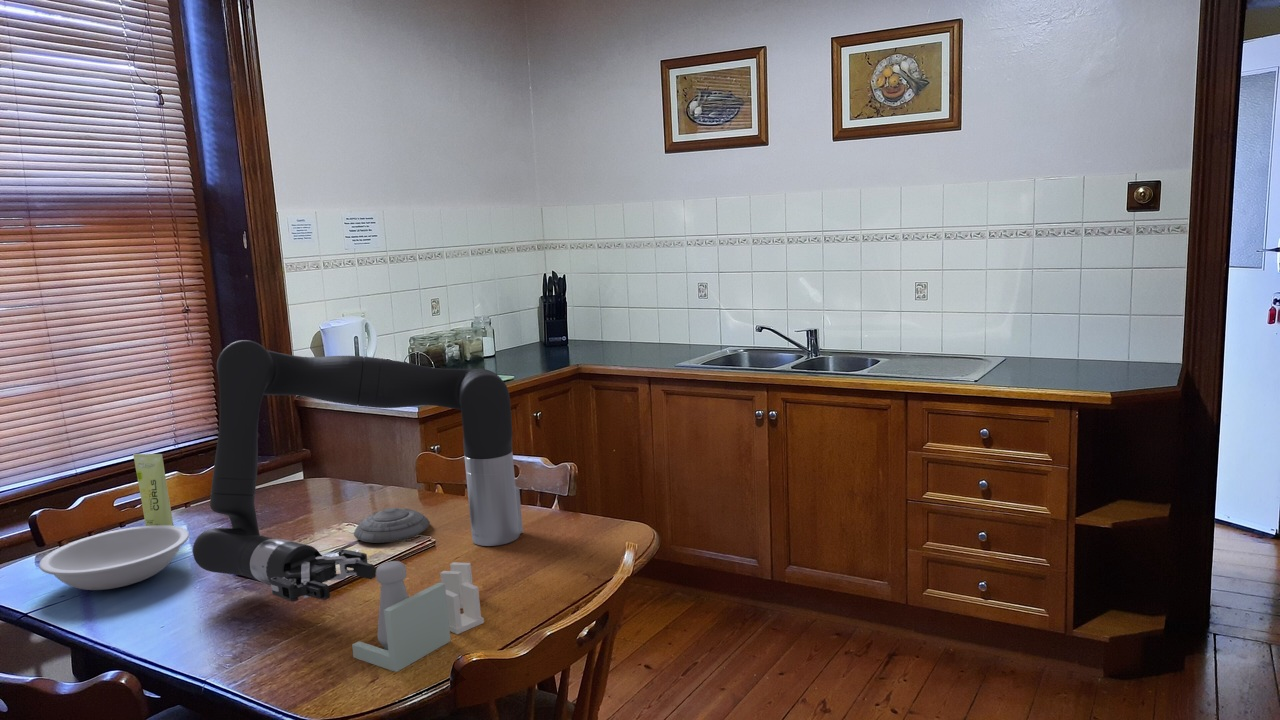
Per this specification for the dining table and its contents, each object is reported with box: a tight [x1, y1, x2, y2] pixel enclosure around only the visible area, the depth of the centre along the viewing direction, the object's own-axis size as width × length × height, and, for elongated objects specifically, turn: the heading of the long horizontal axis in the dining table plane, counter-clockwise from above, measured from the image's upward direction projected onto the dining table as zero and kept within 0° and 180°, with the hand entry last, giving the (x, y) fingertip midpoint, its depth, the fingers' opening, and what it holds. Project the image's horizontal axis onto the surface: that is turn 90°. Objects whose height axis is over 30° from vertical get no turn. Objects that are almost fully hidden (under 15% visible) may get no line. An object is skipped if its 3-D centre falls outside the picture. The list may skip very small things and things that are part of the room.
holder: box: [351, 581, 452, 673], centre depth 132 cm, size 10×9×9 cm
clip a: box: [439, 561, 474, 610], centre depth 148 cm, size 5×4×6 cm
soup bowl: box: [38, 525, 190, 591], centre depth 166 cm, size 24×24×7 cm
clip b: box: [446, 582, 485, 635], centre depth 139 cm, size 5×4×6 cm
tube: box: [133, 453, 175, 526], centre depth 183 cm, size 6×5×20 cm
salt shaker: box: [375, 560, 410, 651], centre depth 132 cm, size 6×6×13 cm
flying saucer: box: [353, 507, 431, 544], centre depth 183 cm, size 15×15×6 cm
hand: (351, 582), depth 137 cm, fingers open, 8 cm apart
